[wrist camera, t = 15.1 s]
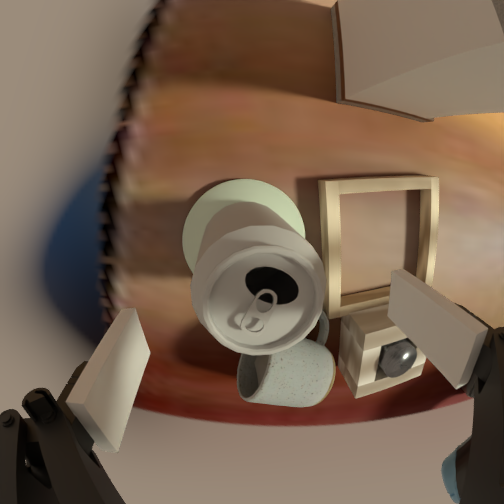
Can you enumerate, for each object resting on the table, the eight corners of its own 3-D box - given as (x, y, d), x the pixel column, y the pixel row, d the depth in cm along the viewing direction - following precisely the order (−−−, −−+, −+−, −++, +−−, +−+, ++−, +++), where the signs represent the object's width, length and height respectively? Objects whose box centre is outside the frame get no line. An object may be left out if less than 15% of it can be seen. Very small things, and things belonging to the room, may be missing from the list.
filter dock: (410, 344, 32) (433, 369, 27) (321, 370, 31) (336, 403, 26) (427, 175, 25) (464, 181, 20) (317, 180, 25) (344, 185, 19)
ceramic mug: (296, 379, 32) (312, 425, 24) (233, 365, 30) (238, 414, 22) (339, 308, 29) (371, 347, 22) (273, 285, 27) (291, 325, 20)
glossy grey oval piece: (392, 346, 29) (412, 370, 25) (364, 355, 29) (382, 382, 24) (397, 319, 28) (420, 342, 23) (367, 327, 28) (388, 353, 23)
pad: (305, 285, 28) (307, 288, 27) (195, 301, 27) (194, 305, 26) (298, 172, 24) (300, 173, 23) (174, 188, 24) (172, 189, 23)
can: (301, 223, 25) (363, 273, 13) (262, 293, 26) (289, 380, 15) (225, 184, 23) (229, 203, 12) (188, 261, 25) (165, 338, 13)
